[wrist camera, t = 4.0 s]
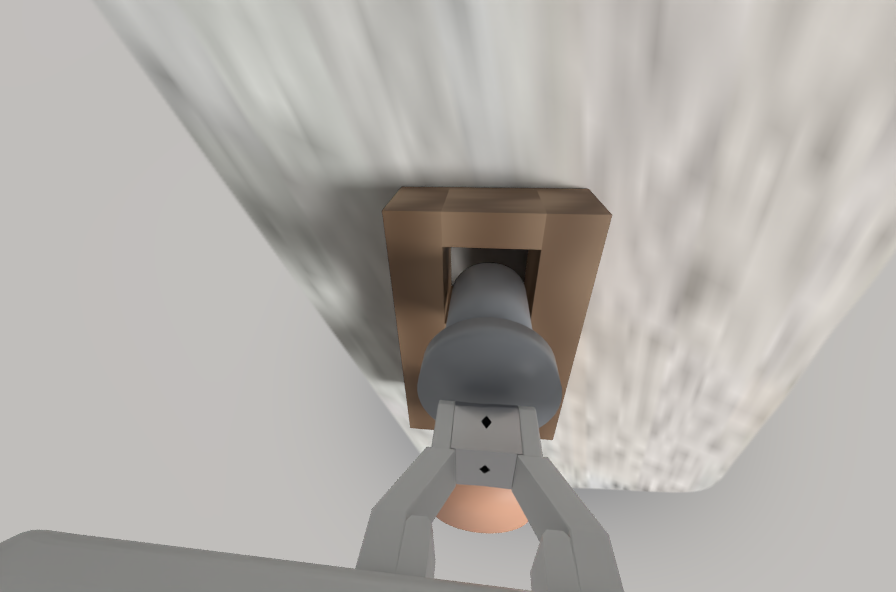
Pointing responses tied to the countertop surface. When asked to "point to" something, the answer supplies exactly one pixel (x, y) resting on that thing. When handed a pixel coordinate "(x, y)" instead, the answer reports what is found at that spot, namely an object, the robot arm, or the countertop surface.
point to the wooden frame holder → (492, 226)
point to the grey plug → (490, 348)
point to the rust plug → (482, 509)
